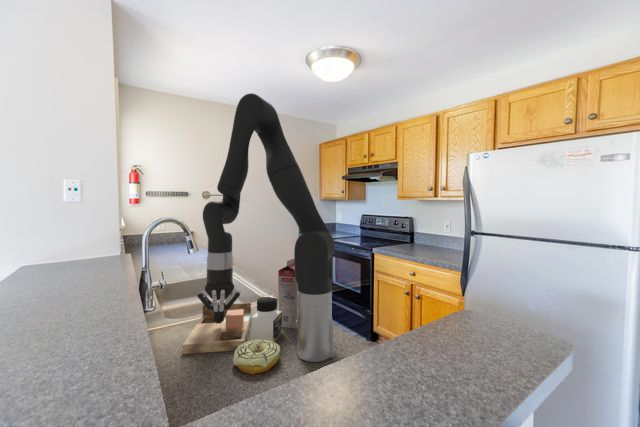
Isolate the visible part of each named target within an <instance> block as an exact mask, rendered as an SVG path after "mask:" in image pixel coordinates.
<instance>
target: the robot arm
mask: <svg viewBox="0 0 640 427" xmlns="http://www.w3.org/2000/svg"><path fill="white" fill-rule="evenodd" d="M233 118H234V119H233V124H232V130H231V135H230V136H231V137H230V141H229V145H228V146H229V147H228V152H227V156H226V159H225V164H224V166H223V169H222V171H221V173H220V174H221V175H220V177H219V180H218V182H217V187H216V189H217V191H218V193H219V194H221V195H222V200H221V201H217V200H211V201H208V203H206V204H205V205H204V207H203V209H202V221H203V226H204V229H205V232H206V236H207V256H206V285H205V287H204V289H203V290H202V291H200V292H199V293H198V294H197V298H198V299H199V300H200V302H201V303H202V305H205V306H206V307H207V309H208V310H213V311H214V321H215V322H216V324H218V323H222V321H223V320H224V310H226V309H229V308H230V307H231V306H232V304H233V303H236V301H237V300H238V298H239V297H240V295H241V294H242V293H241V290H238V289H236V288H235V285H234V283H233V280H234V279H233V277H234V275H233V274H234V270H233V268H234V256H233V236H232V234H231V233H230V232H227V231H225V228H224V227H225V226H224V225H228V224H229V225H230V224H231V223H233V222H234V221H235V220H236V219H237V217H238V215H239V212H240V204H241V193H242V191H243V188H244V185H245V183H246V180H247V176H248V173H249V148H250V143H251V139H252V136H253V134H254V132H255V133H256V135H257V136H258V138H259V140H260V141H261V144H262V146H263V148H264V151H265V156H266V157H265V160H266V161H265V167H266V168H265V169H266V174H267V177H268V180H269V182H270V185H271V187H272V190H273V192H274V194H275V196H276V197H277V198H278V200H279V202H280V203H281V204H282V205H283V206H284V208H285V209H286V210H287V211H288V213H289V214H290V216H292V217H293V220H294V221H295V223H296V226H297V227H298V230H299V232H300V235H299V236H298V237H297V239H296V241H295V244H294V249H293V251H294V252H293V253H294V254H293V255H294V257H293V259H294V262H295V279H296V282H297V284H298V328H297V334H296V335H297V340H296V341H297V348H296V349H297V351H296V352H297V356H298V357H299V359H301V360H303V361H306V362H308V363H309V362H310V363H318V362H319V363H320V362H324V361H327V360H328V359H332V358H334V320H333V316H332V312H333V311H332V310H333V308H332V307H333V303H332V302H333V299H332V296H333V293H332V292H333V284H332V283H333V281H332V279H331V278H330V277H329V260H330V259H331V258H332V257H333V256H334V254H335V250H336V246H335V244H336V243H335V240H334V238H333V236H332V233H331V232H330V230H329V229H328V227H327V225H326V223H325V221H324V220H323V218H322V217H321V215H320V212H319V211H318V209H317V207H316V204H315V201H314V199H313V196H312V194H311V191H310V189H309V187H308V184H307V182H306V180H305V176H304V175H303V173H302V171H301V168H300V165H299V164H298V162H297V160H296V158H295V155H294V153H293V152H292V149H291V147H290V145H289V144H288V142H287V140H286V137H285V134H284V131H283V128H282V125H281V122H280V118H279V116H278V112H277V110H276V109H275V107H274V106H273V105H272V104H271V103H270V102H268V101H267V100H266V99H264V98H263V97H261V96H260V95H258V94H256V93H254V92H253V93H246V94H245V95H243V96H242V97H241V98H240V99H239V101H238V103H237V105H236V108H235V113H234V117H233ZM231 293H232V294H231ZM230 295H231V298H230V300H229V301H228V302H227V303H226V300H227V299H228V297H229V296H230ZM208 296H209V297H210V299H211V300H212V301H211V300H210V299H209V298H208ZM219 304H220V309H219Z"/></svg>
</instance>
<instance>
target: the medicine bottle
mask: <svg viewBox="0 0 640 427" xmlns="http://www.w3.org/2000/svg"><path fill="white" fill-rule="evenodd" d="M250 326H251V328H250V331H251V333H250V336H251V337H250V339H251V340H258V339H262V340H270V341H273V342H275V343H276V340H278V338H279V337H280V336H281V334H282V332H283V330H282V328H283V327H282V311H278V306H277V299H276V298H275V297H272V295H265V296H261V297H259V298H257V300H256V312H255V314H253V315H252V316H251V321H250Z"/></svg>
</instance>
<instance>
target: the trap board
mask: <svg viewBox="0 0 640 427" xmlns="http://www.w3.org/2000/svg"><path fill="white" fill-rule="evenodd" d="M219 309H220V303H219ZM239 309H244V323H243V328H233V329H226V314H227V311H228V310H239ZM251 318H252V302H234V303H233V304H232V306H231V307H230V308H229V309H226V310H224V320H223V321H222V323H218V324H216V322H215V321H214V311H213V310H208V309H207V307H206V306H205V305H204V304H202V316H201V317H200V319H199V320H198V322H197V323H196V325H195V326H194V328H193V329H192V331H191V332H190V333H189V335H188V336H187V338H186V339H185V341H184V342H183V343H182V354H183V355H187V354H188V355H189V354H200V353H201V354H202V353H203V354H204V353H216V352H217V353H219V352H228V351H232V352H233V351H235V350H236V349H237V348H238V347H239V346H240V345H241V344H243V343H245V342H247V339H248V333H249V329H250V326H251Z"/></svg>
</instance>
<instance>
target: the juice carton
mask: <svg viewBox="0 0 640 427" xmlns="http://www.w3.org/2000/svg"><path fill="white" fill-rule="evenodd" d="M277 275H278V276H277V278H278V282H277V284H278V288H277V290H278V297H277V298H278V306H277V311H282V328H287V329H295V330H298V284H297V282H296V279H295V262H294V258H292V259H289V260H287V261H286V265H285V266H284V267H282V268H280V269H279V270H278V274H277ZM296 320H297V322H296Z"/></svg>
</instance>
